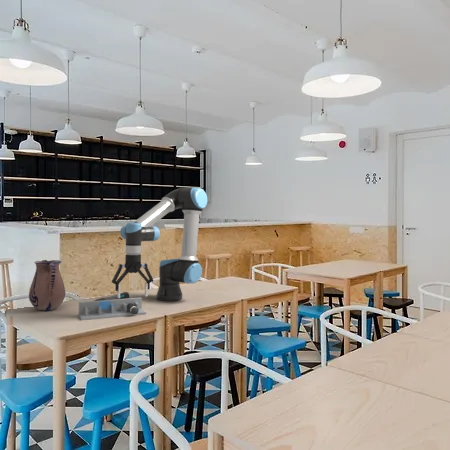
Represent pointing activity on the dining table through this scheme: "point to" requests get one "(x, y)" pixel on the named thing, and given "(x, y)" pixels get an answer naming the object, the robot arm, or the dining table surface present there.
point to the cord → (132, 308)
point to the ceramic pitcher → (47, 286)
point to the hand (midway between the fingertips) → (132, 296)
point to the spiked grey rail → (108, 308)
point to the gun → (115, 297)
